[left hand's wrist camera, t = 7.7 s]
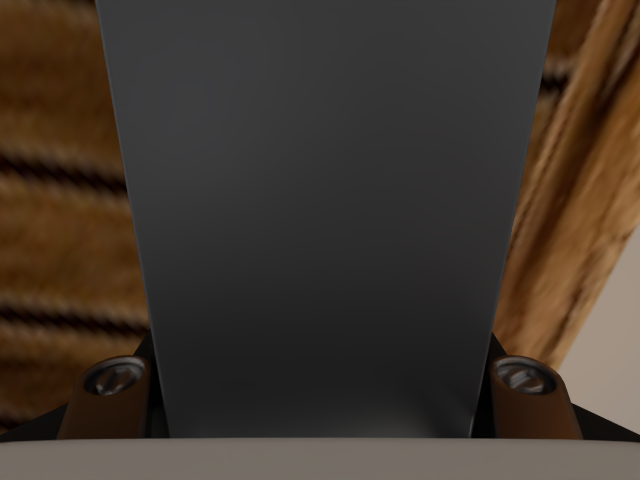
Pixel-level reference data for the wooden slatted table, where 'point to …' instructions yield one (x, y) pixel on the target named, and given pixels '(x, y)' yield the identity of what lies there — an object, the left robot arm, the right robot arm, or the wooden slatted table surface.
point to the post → (323, 203)
